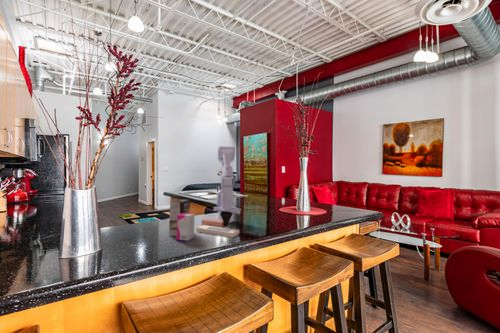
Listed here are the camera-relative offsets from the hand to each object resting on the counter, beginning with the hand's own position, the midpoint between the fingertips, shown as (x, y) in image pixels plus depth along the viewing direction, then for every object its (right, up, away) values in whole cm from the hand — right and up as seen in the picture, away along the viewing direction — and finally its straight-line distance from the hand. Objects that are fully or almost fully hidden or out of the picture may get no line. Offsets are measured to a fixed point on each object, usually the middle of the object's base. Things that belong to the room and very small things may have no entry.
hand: (226, 226), depth 135 cm
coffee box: (-22, -2, -9) cm, 24 cm away
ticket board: (-4, -2, -5) cm, 7 cm away
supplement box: (-17, -2, -18) cm, 24 cm away
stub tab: (-7, -2, +3) cm, 8 cm away
